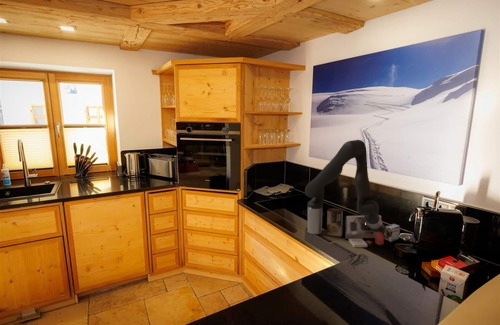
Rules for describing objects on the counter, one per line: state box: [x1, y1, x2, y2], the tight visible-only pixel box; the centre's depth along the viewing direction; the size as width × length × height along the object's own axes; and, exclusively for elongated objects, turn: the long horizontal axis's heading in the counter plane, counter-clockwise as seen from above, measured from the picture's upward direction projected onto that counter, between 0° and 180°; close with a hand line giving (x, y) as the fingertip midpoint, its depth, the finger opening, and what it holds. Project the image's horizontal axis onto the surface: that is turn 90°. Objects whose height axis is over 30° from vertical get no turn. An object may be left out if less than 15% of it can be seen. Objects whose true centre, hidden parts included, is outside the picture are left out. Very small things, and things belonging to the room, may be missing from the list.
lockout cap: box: [374, 226, 385, 246], centre depth 156 cm, size 5×5×10 cm
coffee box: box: [326, 207, 344, 237], centre depth 170 cm, size 9×6×16 cm
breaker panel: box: [344, 214, 382, 240], centre depth 163 cm, size 4×21×14 cm, turn 91°
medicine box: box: [384, 223, 401, 243], centre depth 161 cm, size 8×4×9 cm, turn 118°
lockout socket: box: [348, 238, 368, 248], centre depth 156 cm, size 8×8×2 cm
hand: (380, 235), depth 157 cm, fingers open, 8 cm apart
